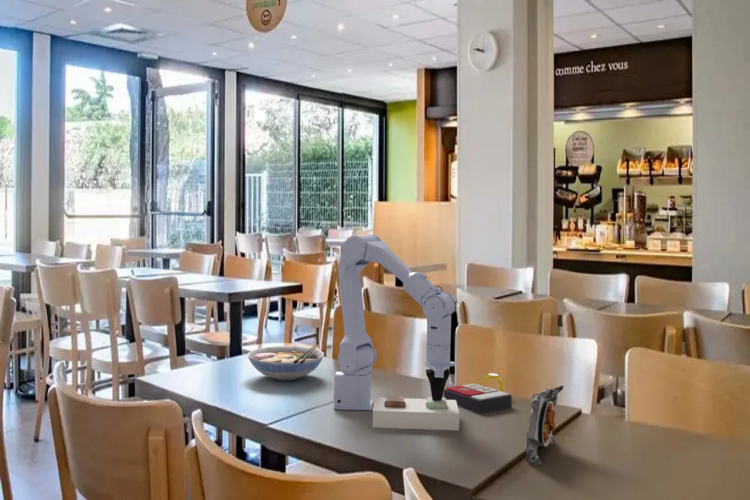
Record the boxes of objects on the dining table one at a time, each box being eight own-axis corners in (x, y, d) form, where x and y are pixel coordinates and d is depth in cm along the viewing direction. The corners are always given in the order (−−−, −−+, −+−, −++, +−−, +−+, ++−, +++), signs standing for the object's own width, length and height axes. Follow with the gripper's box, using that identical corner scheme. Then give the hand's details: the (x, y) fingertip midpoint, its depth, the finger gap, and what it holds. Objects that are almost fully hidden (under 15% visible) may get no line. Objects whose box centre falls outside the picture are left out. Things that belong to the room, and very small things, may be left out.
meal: (546, 466, 135) (548, 402, 134) (525, 462, 137) (527, 399, 136) (561, 444, 148) (564, 385, 147) (542, 440, 150) (544, 382, 149)
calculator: (474, 381, 187) (512, 392, 174) (474, 397, 187) (512, 408, 174) (443, 386, 181) (480, 397, 168) (443, 402, 181) (480, 415, 168)
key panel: (372, 427, 156) (373, 410, 156) (374, 413, 167) (375, 397, 167) (459, 430, 155) (459, 413, 155) (455, 415, 166) (455, 400, 166)
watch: (503, 397, 185) (506, 376, 185) (499, 399, 183) (501, 378, 183) (484, 391, 189) (486, 371, 188) (479, 393, 187) (481, 372, 186)
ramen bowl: (261, 366, 214) (261, 340, 213) (331, 370, 211) (332, 344, 210) (234, 386, 189) (234, 358, 189) (313, 391, 186) (314, 362, 186)
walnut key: (385, 415, 159) (385, 400, 159) (385, 409, 164) (386, 395, 164) (403, 416, 159) (404, 401, 159) (403, 410, 164) (404, 396, 163)
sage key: (427, 416, 159) (427, 402, 159) (426, 411, 163) (427, 397, 163) (446, 417, 159) (446, 402, 159) (445, 411, 163) (445, 397, 163)
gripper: (457, 350, 153) (455, 409, 153) (453, 338, 167) (451, 392, 168) (426, 349, 153) (424, 408, 154) (424, 337, 167) (423, 391, 168)
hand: (436, 400), depth 161 cm, fingers closed, pressing on sage key
